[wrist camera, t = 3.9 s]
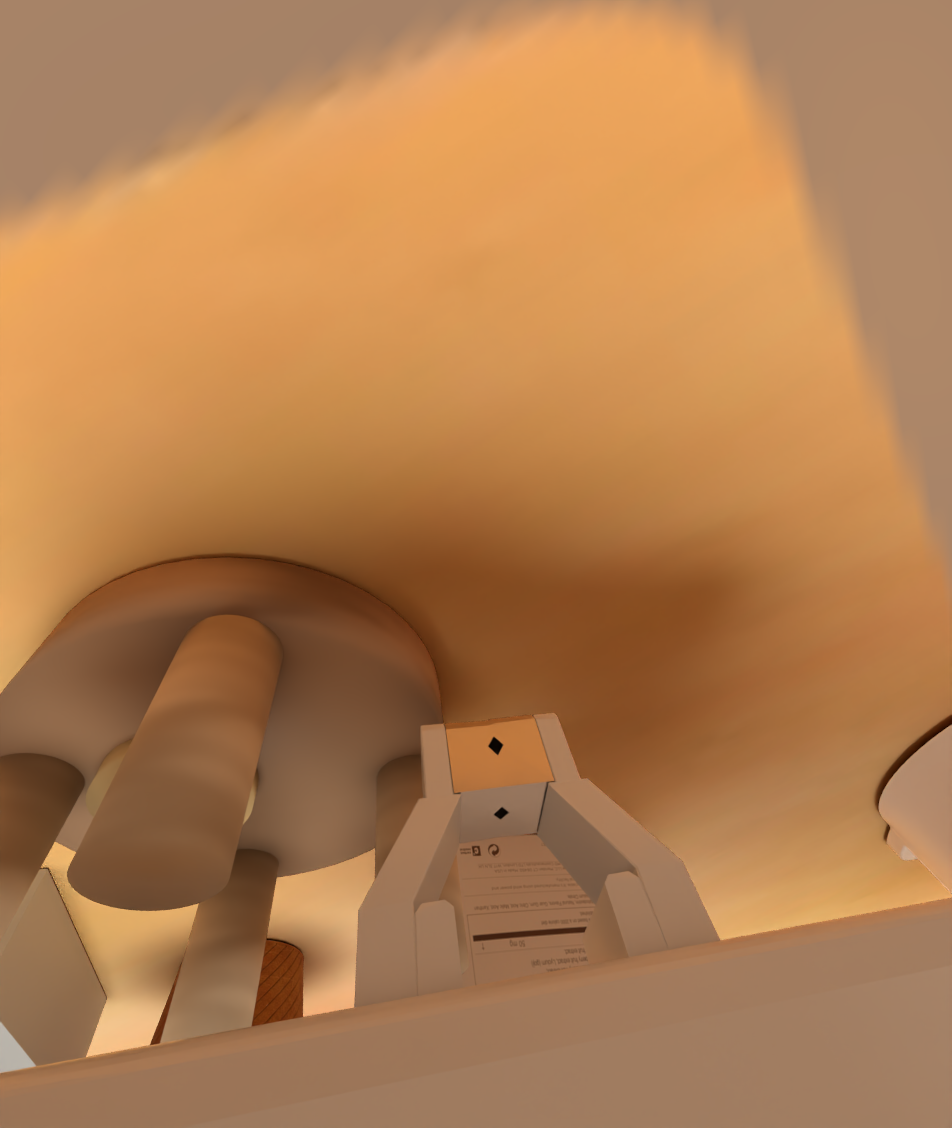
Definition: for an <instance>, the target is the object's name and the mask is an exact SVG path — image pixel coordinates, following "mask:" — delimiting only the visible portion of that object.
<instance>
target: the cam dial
mask: <svg viewBox="0 0 952 1128" xmlns="http://www.w3.org/2000/svg"><path fill="white" fill-rule="evenodd" d="M433 724H443V716H442V707H441V699H440V691H439V683H438V678H437V674H436V669H435V666H434V664H433V661H432V659H431V656H430V654H429V652H428V650H427V649H426V647H425V645H424V644H423V642H422V641H421V639H420V637H419V636H418V635H417V634H416V632H415V631H414V630H413V629H412V628H411V627H410V626H409V625H408V623H407V622H406V621H405V620H404V619H403V618H401V617H400V616H399V615H398V614H397V613H396V612H394V611H393V610H392V609H391V608H390V607H389V606H387V605H386V604H384V603H383V602H381V601H380V600H378V599H377V598H375V597H374V596H372V595H371V594H369V593H368V592H366V591H364V590H362V589H360V588H358V587H356V586H354V585H352V584H350V583H348V582H346V581H344V580H341V579H338V578H335V577H333V576H330V575H327V574H325V573H322V572H319V571H316V570H312V569H308V568H304V567H300V566H297V565H293V564H289V563H283V562H276V561H269V560H262V559H253V558H231V557H220V558H202V559H190V560H184V561H178V562H172V563H166V564H161V565H158V566H154V567H151V568H147V569H144V570H140V571H137V572H134V573H131V574H129V575H127V576H124V577H122V578H120V579H118V580H115V581H113V582H111V583H108V584H107V585H105V586H103V587H102V588H100V589H99V590H97V591H95V592H94V593H92V594H90V595H89V596H87V597H86V598H85V599H83V600H82V601H81V602H80V603H79V604H78V605H77V606H75V607H74V608H73V609H72V610H71V611H70V612H68V613H67V615H66V616H65V617H64V618H63V619H62V621H61V622H60V623H59V624H58V625H57V627H56V628H55V629H54V630H53V631H52V633H51V634H50V635H49V636H48V637H47V638H46V640H45V641H44V642H43V643H42V644H41V646H40V647H39V648H38V649H37V650H36V652H35V653H34V654H33V655H32V656H31V658H30V659H29V660H28V661H27V662H26V663H25V665H24V666H23V667H22V668H21V669H20V671H19V672H18V673H17V674H16V675H15V677H14V678H13V679H12V680H11V681H10V682H9V684H8V685H7V686H6V688H5V689H4V690H3V691H2V693H1V694H0V941H1V939H2V937H3V935H4V933H5V932H6V930H7V928H8V926H9V924H10V922H11V921H12V919H13V917H14V915H15V913H16V911H17V910H18V908H19V906H20V904H21V902H22V900H23V899H24V897H25V895H26V893H27V891H28V889H29V888H30V886H31V884H32V882H33V880H34V878H35V877H36V875H37V873H38V871H39V869H40V867H41V866H42V864H43V862H44V860H45V858H46V856H47V855H48V853H49V851H50V849H51V847H52V845H53V844H54V842H57V843H59V844H61V845H63V846H65V847H67V848H69V849H71V850H73V851H75V852H76V854H75V856H74V858H73V860H72V862H71V864H70V866H69V869H68V871H67V877H68V881H69V883H70V885H71V886H72V887H73V888H74V889H75V891H77V892H78V893H79V894H81V895H82V896H84V897H86V898H88V899H90V900H92V901H94V902H97V903H100V904H103V905H107V906H110V907H115V908H120V909H128V910H140V911H157V910H170V909H176V908H182V907H187V906H190V905H194V904H197V903H199V905H198V908H197V912H196V916H195V919H194V923H193V926H192V930H191V934H190V937H189V941H188V944H187V948H186V951H185V955H184V959H183V962H182V966H181V969H180V973H179V977H178V980H177V984H176V987H175V991H174V994H173V998H172V1002H171V1005H170V1009H169V1012H168V1016H167V1020H166V1023H165V1027H164V1030H163V1034H162V1038H161V1041H160V1043H165V1042H171V1041H176V1040H181V1039H187V1038H192V1037H198V1036H203V1035H209V1034H214V1033H219V1032H225V1031H230V1030H236V1029H241V1028H247V1027H251V1026H252V1020H253V1014H254V1008H255V1002H256V997H257V991H258V985H259V979H260V973H261V967H262V961H263V955H264V949H265V943H266V937H267V931H268V926H269V920H270V914H271V908H272V902H273V896H274V890H275V884H276V878H277V877H283V876H290V875H295V874H300V873H304V872H309V871H314V870H317V869H321V868H325V867H328V866H332V865H335V864H338V863H341V862H343V861H346V860H349V859H352V858H354V857H357V856H359V855H361V854H363V853H365V852H368V851H370V850H372V849H374V848H375V879H376V877H377V875H378V873H379V871H380V869H381V868H382V866H383V864H384V862H385V860H386V858H387V856H388V855H389V853H390V851H391V849H392V847H393V845H394V843H395V842H396V840H397V838H398V836H399V834H400V832H401V830H402V829H403V827H404V825H405V823H406V821H407V819H408V817H409V816H410V814H411V812H412V810H413V808H414V806H415V805H416V803H417V801H418V799H420V798H423V790H422V771H421V736H420V727H421V726H422V725H433ZM440 900H446V901H447V902H449V903H450V904H451V905H452V906H454V912H455V920H456V929H457V938H458V946H459V955H460V964H461V973H462V974H463V973H464V972H465V971H466V970H467V969H468V966H469V959H468V951H467V942H466V933H465V925H464V916H463V907H462V899H461V890H460V881H459V873H458V864H457V855H456V856H455V859H454V861H453V864H452V866H451V869H450V871H449V874H448V877H447V879H446V882H445V884H444V887H443V889H442V892H441V895H440V897H439V900H438V901H440Z"/></svg>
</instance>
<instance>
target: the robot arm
mask: <svg viewBox="0 0 952 1128" xmlns="http://www.w3.org/2000/svg"><path fill="white" fill-rule="evenodd" d="M420 736H421V771H422V790H423V798H420V799H418V801H417V803H416V805H415V806H414V808H413V810H412V812H411V814H410V816H409V817H408V819H407V821H406V823H405V825H404V827H403V829H402V830H401V832H400V834H399V836H398V838H397V840H396V842H395V843H394V845H393V847H392V849H391V851H390V853H389V855H388V856H387V858H386V860H385V862H384V864H383V866H382V868H381V869H380V871H379V873H378V875H377V877H376V879H375V881H374V882H373V884H372V886H371V888H370V890H369V892H368V894H367V895H366V897H365V899H364V901H363V903H362V905H361V907H360V908H359V910H358V933H357V957H356V980H355V1004H354V1008H350V1009H344V1010H339V1011H334V1012H328V1013H323V1014H317V1015H312V1016H306V1017H301V1018H296V1019H290V1020H285V1021H279V1022H274V1023H268V1024H263V1025H257V1026H252V1027H247V1028H241V1029H236V1030H230V1031H225V1032H219V1033H214V1034H209V1035H203V1036H198V1037H192V1038H187V1039H181V1040H176V1041H171V1042H165V1043H160V1044H154V1045H149V1046H143V1047H138V1048H133V1049H127V1050H122V1051H116V1052H111V1053H105V1054H100V1055H95V1056H89V1057H84V1058H78V1059H73V1060H67V1061H62V1062H57V1063H51V1064H46V1065H40V1066H35V1067H29V1068H24V1069H19V1070H13V1071H8V1072H2V1073H0V1128H952V898H948V899H942V900H937V901H931V902H926V903H920V904H915V905H910V906H904V907H899V908H893V909H888V910H882V911H877V912H872V913H866V914H861V915H855V916H850V917H844V918H839V919H833V920H828V921H823V922H817V923H812V924H806V925H801V926H795V927H790V928H785V929H779V930H774V931H768V932H763V933H757V934H752V935H746V936H741V937H736V938H730V939H725V940H720V939H719V936H718V934H717V932H716V930H715V928H714V926H713V924H712V922H711V920H710V918H709V916H708V913H707V911H706V909H705V907H704V905H703V903H702V901H701V899H700V897H699V895H698V893H697V891H696V888H695V886H694V884H693V882H692V880H691V878H690V876H689V874H688V872H687V870H686V868H685V865H684V863H683V861H682V860H680V859H679V858H678V857H677V856H676V855H675V854H674V853H672V852H671V851H670V850H669V849H668V848H667V847H666V846H664V845H663V844H662V843H661V842H660V841H659V840H658V839H656V838H655V837H654V836H653V835H652V834H651V833H650V832H648V831H647V830H646V829H645V828H644V827H643V826H642V825H640V824H639V823H638V822H637V821H636V820H635V819H633V818H632V817H631V816H630V815H629V814H628V813H627V812H625V811H624V810H623V809H622V808H621V807H620V806H619V805H617V804H616V803H615V802H614V801H613V800H612V799H611V798H609V797H608V796H607V795H606V794H605V793H604V792H603V791H601V790H600V789H599V788H598V787H597V786H596V785H595V784H593V783H592V782H591V781H590V780H589V779H588V778H583V779H581V778H580V775H579V773H578V770H577V767H576V765H575V762H574V759H573V756H572V754H571V751H570V748H569V746H568V743H567V740H566V738H565V735H564V732H563V729H562V727H561V724H560V721H559V719H558V716H557V715H556V714H555V713H545V714H536V715H531V714H530V715H522V716H513V717H504V718H495V719H488V720H486V721H472V722H458V723H445V724H433V725H422V726H421V727H420ZM879 813H880V815H881V817H882V818H883V819H884V820H885V821H886V822H887V823H888V825H889V826H890V831H889V834H888V837H887V845H888V846H889V847H890V848H891V849H892V850H893V851H894V852H895V853H896V854H897V855H898V856H899V857H900V858H901V859H902V860H914V859H918V860H919V861H920V862H921V863H922V864H923V865H924V866H925V867H926V868H927V869H928V870H929V871H930V872H931V873H932V874H933V875H934V876H935V877H936V878H937V879H938V880H939V881H940V882H941V883H942V884H943V885H944V886H945V888H946V889H947V890H948V891H949V892H950V893H951V894H952V725H950V726H949V727H947V728H946V729H944V730H943V731H942V732H940V733H939V734H938V735H936V736H935V737H934V738H932V739H931V740H930V741H928V742H927V743H926V744H925V745H924V746H922V747H921V748H920V749H919V750H918V751H917V752H915V753H914V754H913V755H912V756H911V757H910V758H909V759H908V760H907V761H906V762H905V763H904V764H903V765H902V766H901V767H900V768H899V769H898V771H897V772H896V773H895V774H894V775H893V777H892V778H891V779H890V781H889V782H888V784H887V785H886V787H885V789H884V790H883V793H882V795H881V797H880V801H879ZM533 833H538V834H537V836H538V837H539V838H540V839H541V840H542V842H543V843H544V844H545V845H546V846H547V848H548V849H549V850H550V851H551V852H552V854H553V855H554V856H555V857H556V859H557V860H558V861H559V862H560V863H561V865H562V866H563V867H564V868H565V869H566V871H567V872H568V873H569V874H570V875H571V877H572V878H573V879H574V880H575V881H576V883H577V884H578V885H579V886H580V888H581V889H582V890H583V891H584V892H585V894H586V895H587V896H588V897H589V898H590V900H591V901H592V902H593V903H594V904H595V908H594V911H593V913H592V916H591V918H590V921H589V923H588V925H587V928H586V930H585V933H584V935H583V938H582V941H583V944H584V948H585V951H586V955H587V959H588V962H589V965H583V966H578V967H573V968H567V969H562V970H556V971H551V972H545V973H540V974H535V975H529V976H524V977H518V978H513V979H507V980H502V981H496V982H491V983H486V984H480V985H475V986H469V987H464V988H463V981H462V973H461V964H460V955H459V946H458V938H457V929H456V920H455V912H454V906H452V905H451V904H450V903H449V902H447V901H446V900H440V901H438V900H439V897H440V895H441V892H442V889H443V887H444V884H445V882H446V879H447V877H448V874H449V871H450V869H451V866H452V864H453V861H454V859H455V856H456V853H457V851H458V848H459V844H461V843H467V842H473V841H479V840H485V839H491V838H497V837H506V836H515V835H524V834H533Z"/></svg>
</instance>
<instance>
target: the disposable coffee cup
mask: <svg viewBox="0 0 952 1128" xmlns="http://www.w3.org/2000/svg"><path fill="white" fill-rule="evenodd" d="M303 961H304V957H303V954H302V953H301V952H300V950H298V949H297V948H295V947H294V946H291V945H288V944H286V943H282V942H278V941H273V940H266V943H265V949H264V955H263V961H262V967H261V973H260V979H259V985H258V991H257V997H256V1002H255V1008H254V1014H253V1020H252V1026H257V1025H263V1024H268V1023H274V1022H279V1021H285V1020H290V1019H296V1018H301V1017H303ZM181 966H182V963H181ZM181 966H180V968H179V971H178V974H177V976H176V979H175V982H174V984H173V987H172V989H171V992H170V995H169V997H168V1000H167V1002H166V1005H165V1008H164V1010H163V1013H162V1015H161V1018H160V1021H159V1023H158V1026H157V1028H156V1031H155V1033H154V1036H153V1039H152V1041H151V1044H150V1045H154V1044H160V1041H161V1038H162V1034H163V1030H164V1027H165V1023H166V1020H167V1016H168V1012H169V1009H170V1005H171V1002H172V998H173V994H174V991H175V987H176V984H177V980H178V977H179V973H180V969H181ZM252 1026H251V1027H252Z"/></svg>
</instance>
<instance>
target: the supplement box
mask: <svg viewBox="0 0 952 1128" xmlns="http://www.w3.org/2000/svg"><path fill="white" fill-rule="evenodd" d="M456 855H457V864H458V873H459V881H460V890H461V899H462V907H463V916H464V925H465V933H466V942H467V951H468V959H469V966H468V969H467V970H466V971H465V972H464V973H463V974H462V981H463V988H464V987H469V986H475V985H480V984H486V983H491V982H496V981H502V980H507V979H513V978H518V977H524V976H529V975H535V974H540V973H545V972H551V971H556V970H562V969H567V968H573V967H578V966H583V965H589V962H588V959H587V955H586V951H585V948H584V944H583V941H582V938H583V935H584V933H585V930H586V928H587V925H588V923H589V921H590V918H591V916H592V913H593V911H594V908H595V904H594V903H593V902H592V901H591V900H590V898H589V897H588V896H587V895H586V894H585V892H584V891H583V890H582V889H581V888H580V886H579V885H578V884H577V883H576V881H575V880H574V879H573V878H572V877H571V875H570V874H569V873H568V872H567V871H566V869H565V868H564V867H563V866H562V865H561V863H560V862H559V861H558V860H557V859H556V857H555V856H554V855H553V854H552V852H551V851H550V850H549V849H548V848H547V846H546V845H545V844H544V843H543V842H542V840H541V839H540V838H539V837H538V836H537V835H515V836H506V837H497V838H491V839H485V840H479V841H473V842H467V843H461V844H459V848H458V851H457V853H456Z"/></svg>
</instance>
